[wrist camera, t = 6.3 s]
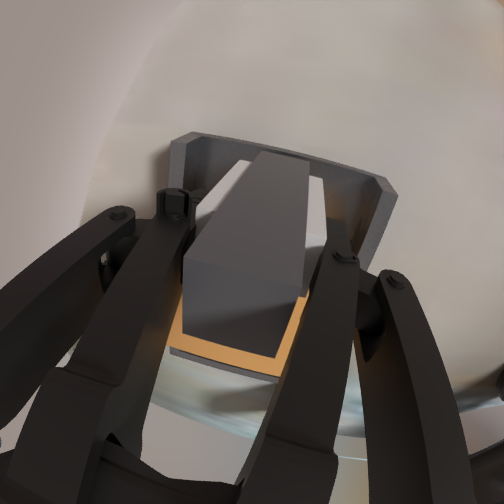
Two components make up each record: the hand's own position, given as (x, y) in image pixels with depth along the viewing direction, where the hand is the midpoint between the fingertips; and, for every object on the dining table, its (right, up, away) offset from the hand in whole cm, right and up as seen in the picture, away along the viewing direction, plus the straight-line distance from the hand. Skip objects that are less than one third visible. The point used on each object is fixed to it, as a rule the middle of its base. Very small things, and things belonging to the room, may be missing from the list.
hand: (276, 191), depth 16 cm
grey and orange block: (0, -2, +9) cm, 9 cm away
